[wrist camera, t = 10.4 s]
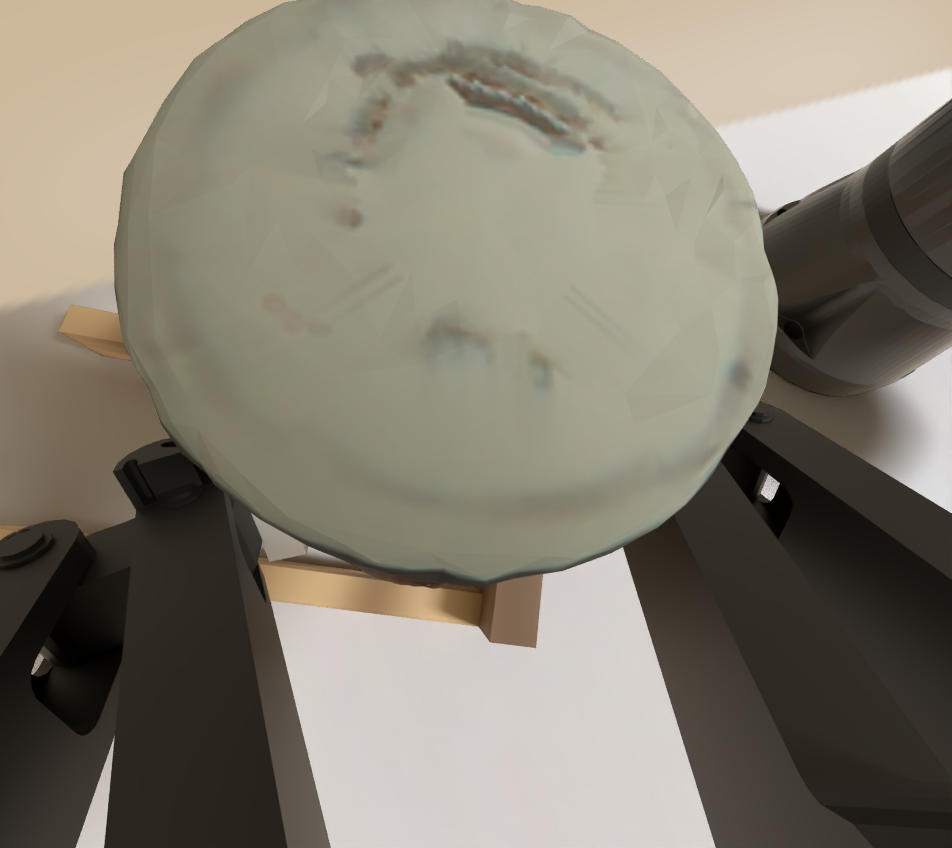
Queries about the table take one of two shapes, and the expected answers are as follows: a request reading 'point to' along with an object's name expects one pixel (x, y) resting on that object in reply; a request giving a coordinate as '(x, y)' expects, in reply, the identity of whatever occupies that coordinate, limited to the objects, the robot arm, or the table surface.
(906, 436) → the table surface
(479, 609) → the oak guide channel
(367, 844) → the table surface
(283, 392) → the sauce bottle
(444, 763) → the table surface
